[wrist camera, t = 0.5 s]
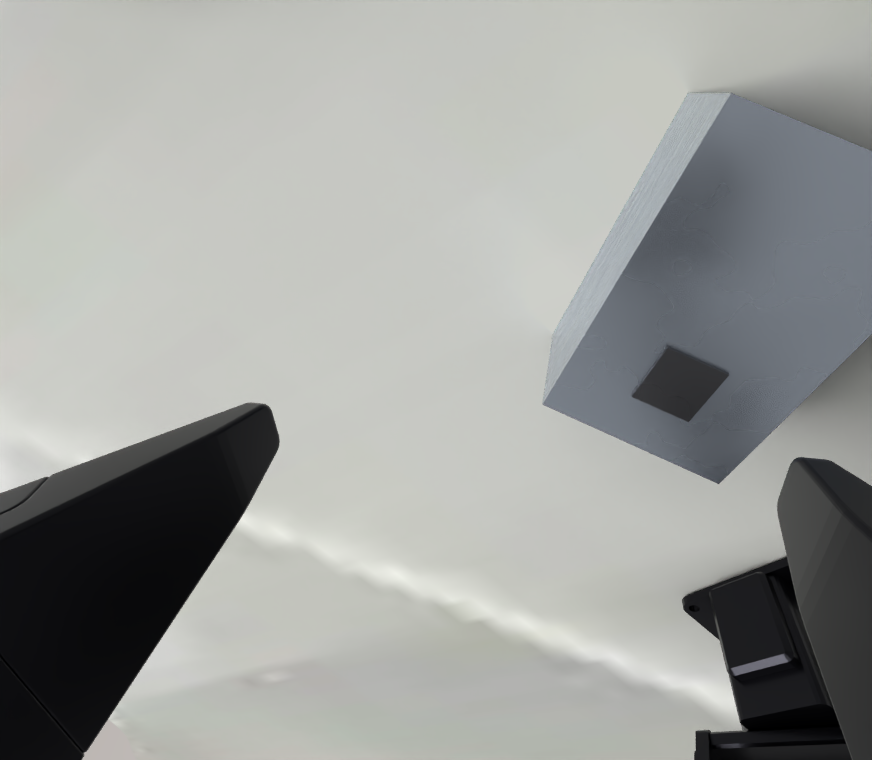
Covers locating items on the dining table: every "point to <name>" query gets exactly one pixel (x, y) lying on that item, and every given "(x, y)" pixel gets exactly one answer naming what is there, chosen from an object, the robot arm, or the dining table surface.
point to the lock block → (720, 287)
